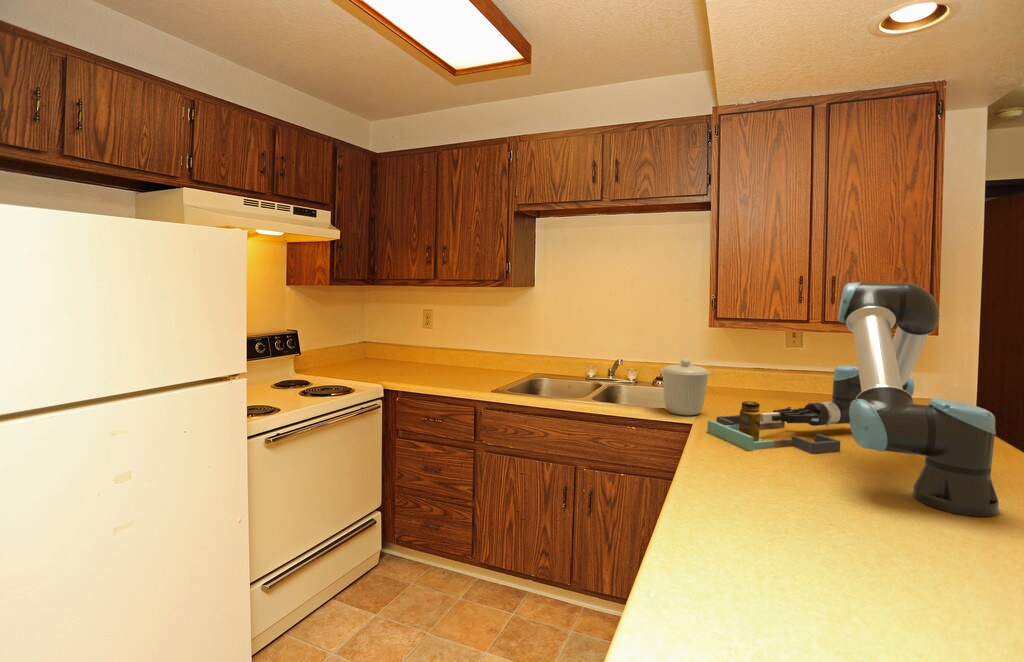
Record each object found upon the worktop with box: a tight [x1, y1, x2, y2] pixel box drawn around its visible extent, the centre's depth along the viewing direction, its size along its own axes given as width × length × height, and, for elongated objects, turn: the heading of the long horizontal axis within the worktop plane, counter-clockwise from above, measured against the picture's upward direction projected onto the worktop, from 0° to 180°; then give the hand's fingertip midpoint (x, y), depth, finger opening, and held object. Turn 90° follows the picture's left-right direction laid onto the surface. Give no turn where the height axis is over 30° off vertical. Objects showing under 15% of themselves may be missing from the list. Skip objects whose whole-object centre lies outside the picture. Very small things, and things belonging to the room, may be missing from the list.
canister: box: [660, 358, 711, 416], centre depth 206 cm, size 18×18×21 cm
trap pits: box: [715, 414, 841, 454], centre depth 175 cm, size 18×34×3 cm, turn 15°
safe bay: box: [706, 419, 774, 451], centre depth 171 cm, size 10×20×4 cm, turn 15°
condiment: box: [738, 400, 765, 442], centre depth 172 cm, size 7×8×12 cm
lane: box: [759, 421, 817, 448], centre depth 175 cm, size 20×19×2 cm
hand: (761, 418), depth 173 cm, fingers closed
